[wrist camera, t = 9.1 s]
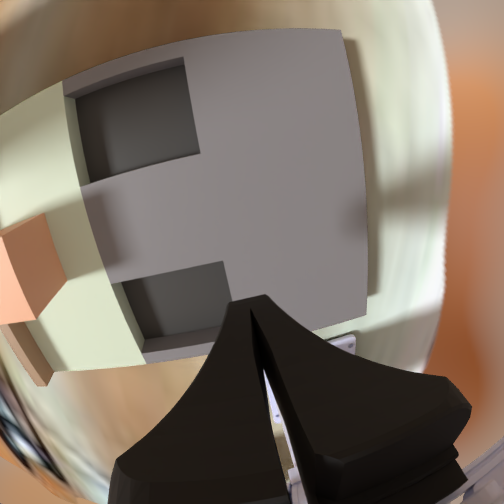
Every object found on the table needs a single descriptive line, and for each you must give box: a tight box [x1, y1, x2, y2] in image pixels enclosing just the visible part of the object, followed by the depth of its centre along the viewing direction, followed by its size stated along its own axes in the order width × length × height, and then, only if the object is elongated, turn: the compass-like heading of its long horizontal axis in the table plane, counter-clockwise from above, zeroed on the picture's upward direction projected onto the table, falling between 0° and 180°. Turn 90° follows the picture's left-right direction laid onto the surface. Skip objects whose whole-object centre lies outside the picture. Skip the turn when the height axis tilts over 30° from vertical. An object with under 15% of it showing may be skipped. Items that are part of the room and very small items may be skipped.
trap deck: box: [0, 28, 368, 386], centre depth 15 cm, size 19×26×4 cm
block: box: [0, 213, 68, 325], centre depth 12 cm, size 4×4×4 cm
